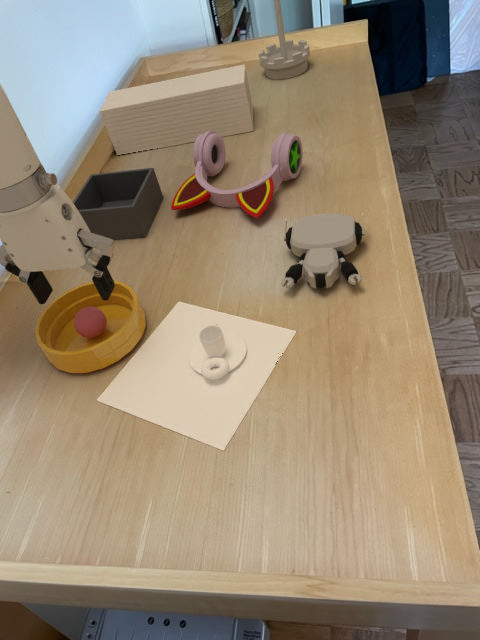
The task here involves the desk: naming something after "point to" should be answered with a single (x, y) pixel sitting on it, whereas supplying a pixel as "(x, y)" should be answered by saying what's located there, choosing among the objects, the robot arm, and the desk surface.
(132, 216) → the bin
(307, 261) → the robot toy
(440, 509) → the desk surface
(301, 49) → the flag stand
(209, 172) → the headphones
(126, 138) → the stack of papers
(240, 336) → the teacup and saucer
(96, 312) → the toy ball
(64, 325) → the bowl
